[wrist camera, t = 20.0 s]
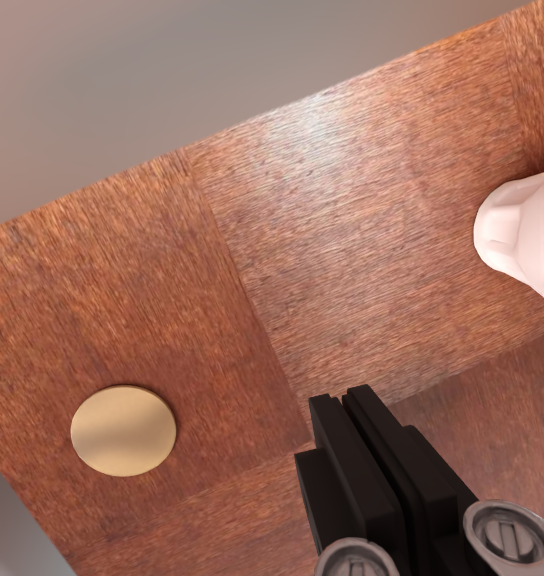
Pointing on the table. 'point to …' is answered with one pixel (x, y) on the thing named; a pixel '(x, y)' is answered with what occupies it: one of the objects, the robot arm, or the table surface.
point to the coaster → (123, 430)
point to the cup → (514, 230)
